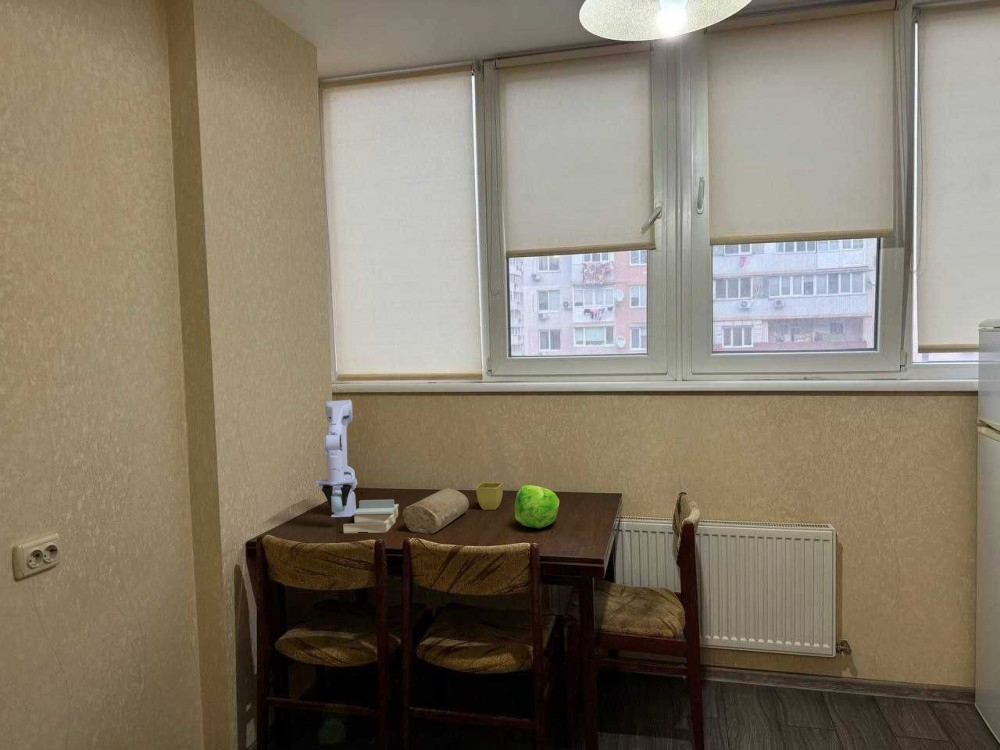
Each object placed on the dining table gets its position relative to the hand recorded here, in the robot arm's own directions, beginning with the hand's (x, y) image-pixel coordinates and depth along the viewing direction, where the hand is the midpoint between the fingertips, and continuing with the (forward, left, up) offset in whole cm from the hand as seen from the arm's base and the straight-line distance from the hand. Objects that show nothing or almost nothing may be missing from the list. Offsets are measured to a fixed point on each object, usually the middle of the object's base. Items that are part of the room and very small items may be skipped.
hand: (338, 505), depth 235 cm
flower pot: (-21, +52, -8) cm, 57 cm away
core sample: (-3, +35, -8) cm, 36 cm away
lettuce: (+3, +71, -8) cm, 72 cm away
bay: (-3, +11, -8) cm, 14 cm away
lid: (-10, +11, -5) cm, 15 cm away
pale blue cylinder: (0, 0, -2) cm, 2 cm away
